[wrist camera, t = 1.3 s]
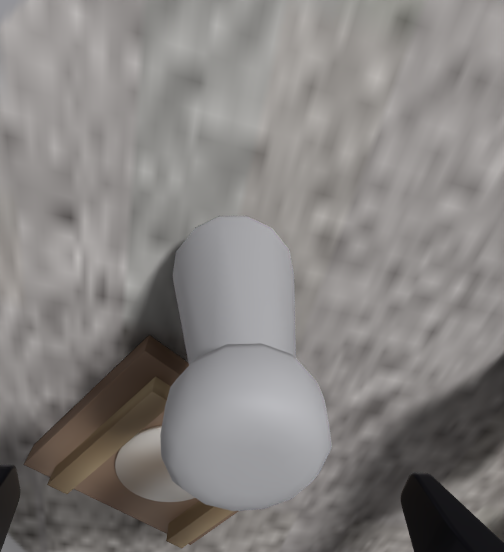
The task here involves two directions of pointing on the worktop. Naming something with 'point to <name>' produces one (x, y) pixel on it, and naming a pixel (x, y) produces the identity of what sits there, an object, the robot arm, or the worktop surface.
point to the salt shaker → (241, 373)
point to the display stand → (126, 448)
